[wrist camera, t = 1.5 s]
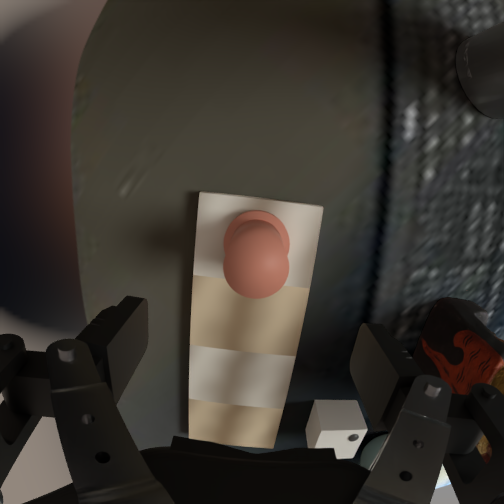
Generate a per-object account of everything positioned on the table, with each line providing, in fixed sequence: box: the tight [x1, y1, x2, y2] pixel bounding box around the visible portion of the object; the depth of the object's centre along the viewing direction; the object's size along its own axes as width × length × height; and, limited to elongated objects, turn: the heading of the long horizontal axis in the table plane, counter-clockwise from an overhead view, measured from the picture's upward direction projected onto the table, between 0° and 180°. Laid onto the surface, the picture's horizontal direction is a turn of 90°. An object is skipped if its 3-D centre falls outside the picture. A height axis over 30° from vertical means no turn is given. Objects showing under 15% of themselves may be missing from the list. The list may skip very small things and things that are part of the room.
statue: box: [413, 297, 504, 464], centre depth 20 cm, size 12×8×20 cm, turn 169°
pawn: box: [223, 210, 290, 299], centre depth 23 cm, size 5×5×7 cm
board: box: [189, 191, 323, 448], centre depth 29 cm, size 10×28×1 cm, turn 173°
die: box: [305, 400, 368, 459], centre depth 30 cm, size 5×5×5 cm
